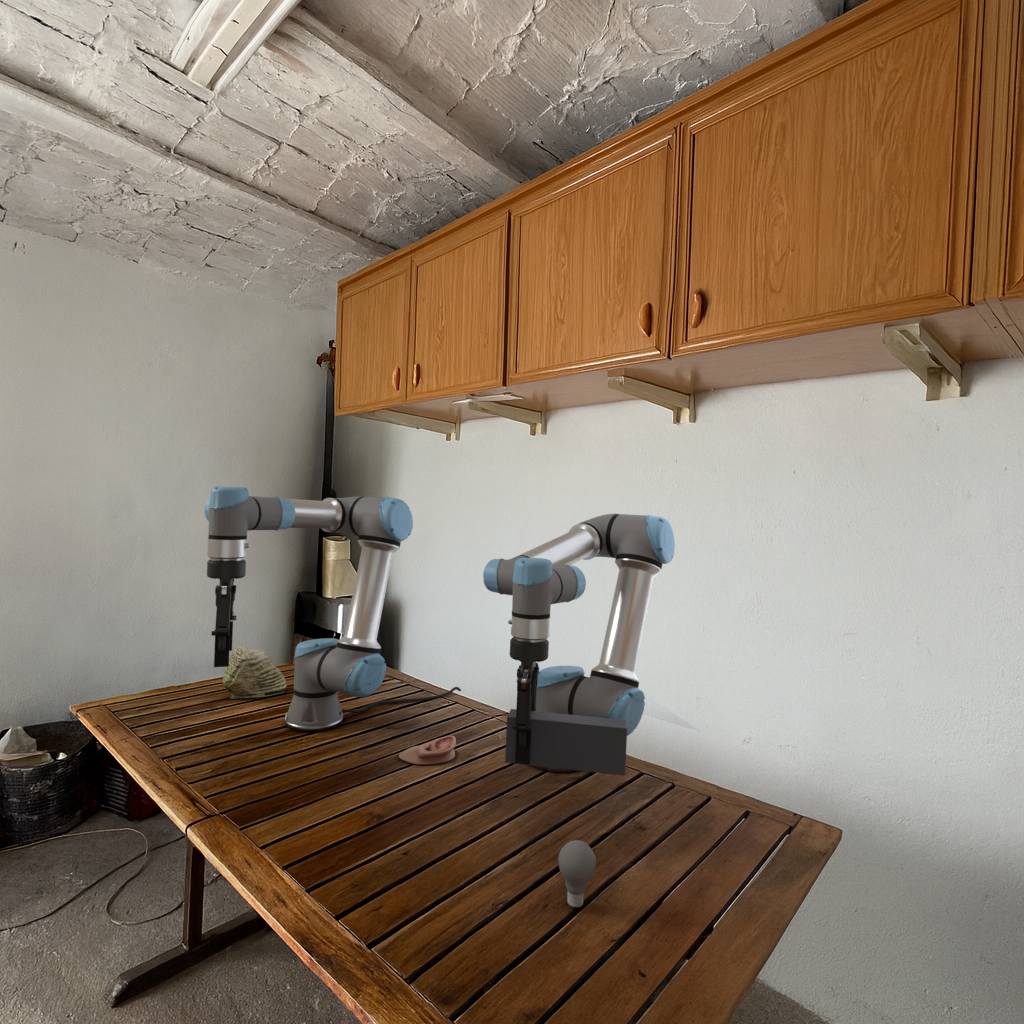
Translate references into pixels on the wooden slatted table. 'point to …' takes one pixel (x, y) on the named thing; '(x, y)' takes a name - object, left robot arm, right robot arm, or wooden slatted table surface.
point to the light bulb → (576, 869)
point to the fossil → (252, 674)
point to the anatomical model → (431, 751)
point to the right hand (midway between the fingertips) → (524, 756)
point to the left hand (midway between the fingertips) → (223, 658)
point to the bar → (572, 742)
